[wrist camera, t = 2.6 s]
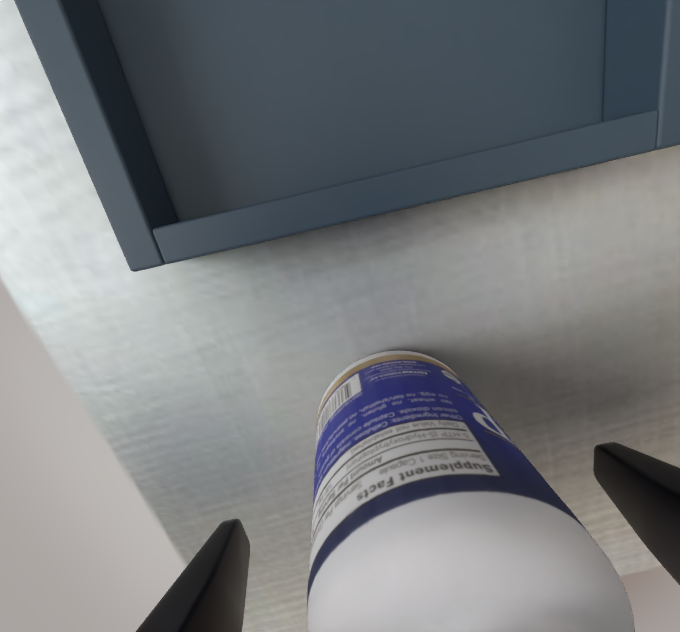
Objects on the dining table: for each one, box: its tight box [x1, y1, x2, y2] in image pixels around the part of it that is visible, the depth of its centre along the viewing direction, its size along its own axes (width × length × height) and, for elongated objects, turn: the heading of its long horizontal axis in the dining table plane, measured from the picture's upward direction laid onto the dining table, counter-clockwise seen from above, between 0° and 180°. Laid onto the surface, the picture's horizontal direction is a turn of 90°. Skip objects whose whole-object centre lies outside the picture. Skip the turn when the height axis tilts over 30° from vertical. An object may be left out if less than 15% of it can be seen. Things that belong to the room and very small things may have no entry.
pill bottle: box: [307, 351, 635, 632], centre depth 7 cm, size 5×5×9 cm
